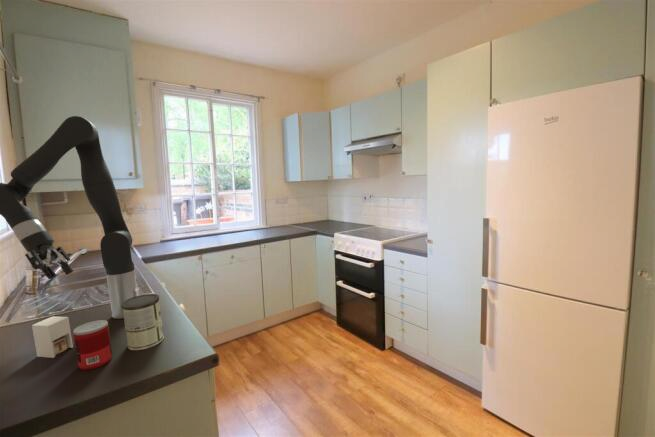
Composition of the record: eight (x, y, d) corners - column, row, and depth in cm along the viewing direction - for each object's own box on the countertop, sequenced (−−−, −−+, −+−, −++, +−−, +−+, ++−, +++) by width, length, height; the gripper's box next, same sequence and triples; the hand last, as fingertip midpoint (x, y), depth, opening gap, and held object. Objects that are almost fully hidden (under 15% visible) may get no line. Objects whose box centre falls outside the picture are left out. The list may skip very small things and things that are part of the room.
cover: (37, 356, 94) (31, 325, 93) (57, 346, 100) (52, 316, 99) (53, 357, 93) (48, 326, 92) (73, 347, 99) (68, 317, 98)
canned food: (119, 356, 92) (114, 321, 91) (91, 372, 85) (85, 334, 83) (100, 353, 95) (95, 318, 93) (72, 368, 87) (66, 331, 86)
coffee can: (123, 342, 100) (117, 300, 99) (158, 331, 107) (153, 291, 106) (131, 354, 93) (125, 309, 91) (168, 341, 100) (163, 298, 98)
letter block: (43, 355, 95) (41, 342, 95) (56, 348, 99) (55, 336, 99) (54, 356, 94) (52, 343, 94) (67, 349, 98) (65, 336, 98)
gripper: (27, 230, 100) (58, 273, 101) (58, 228, 114) (84, 266, 115) (4, 243, 99) (35, 286, 100) (38, 240, 113) (65, 277, 114)
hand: (62, 275), depth 108 cm, fingers open, 8 cm apart
